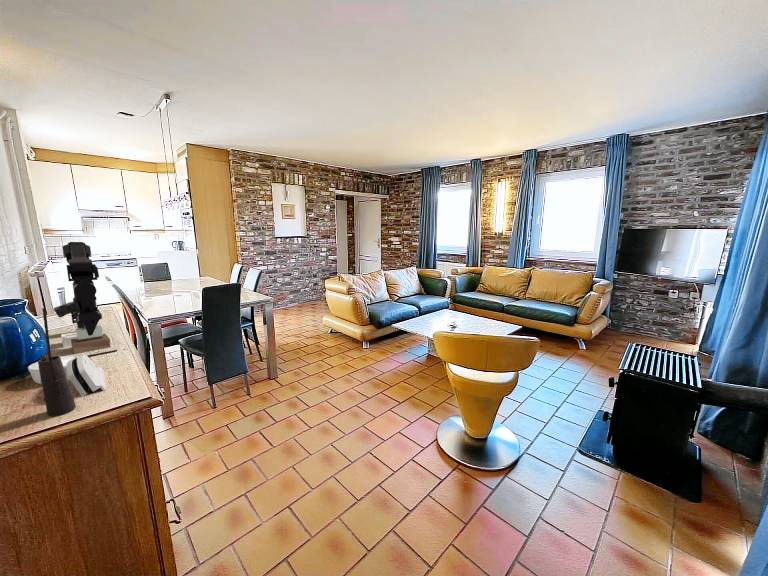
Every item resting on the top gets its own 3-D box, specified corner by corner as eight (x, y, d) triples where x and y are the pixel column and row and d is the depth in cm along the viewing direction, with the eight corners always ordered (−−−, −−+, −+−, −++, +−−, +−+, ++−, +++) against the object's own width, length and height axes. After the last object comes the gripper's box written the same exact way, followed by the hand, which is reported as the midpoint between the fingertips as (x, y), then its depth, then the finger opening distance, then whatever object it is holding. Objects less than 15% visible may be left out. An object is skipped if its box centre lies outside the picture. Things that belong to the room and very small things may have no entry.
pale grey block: (77, 346, 117) (75, 328, 116) (102, 342, 123) (100, 325, 121) (78, 348, 115) (76, 330, 114) (103, 344, 120) (101, 327, 119)
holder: (62, 346, 123) (61, 334, 122) (93, 341, 130) (91, 330, 129) (64, 350, 119) (62, 338, 118) (95, 345, 125) (94, 333, 125)
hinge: (105, 391, 90) (85, 363, 86) (85, 401, 87) (63, 373, 84) (104, 371, 102) (87, 347, 99) (86, 380, 100) (68, 355, 96)
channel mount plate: (66, 350, 119) (64, 338, 118) (110, 343, 129) (109, 331, 128) (70, 360, 110) (68, 347, 109) (117, 351, 120) (115, 339, 119)
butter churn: (33, 409, 80) (16, 304, 75) (84, 397, 86) (71, 300, 82) (29, 425, 73) (10, 312, 69) (84, 410, 80) (70, 306, 76)
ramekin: (81, 378, 97) (79, 363, 96) (28, 390, 89) (25, 373, 89) (81, 367, 105) (79, 353, 104) (32, 377, 97) (30, 361, 97)
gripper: (51, 293, 115) (57, 333, 118) (55, 301, 104) (61, 345, 106) (92, 290, 124) (96, 327, 126) (99, 297, 112) (104, 337, 115)
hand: (89, 334), depth 118 cm, fingers closed on pale grey block, 4 cm apart
